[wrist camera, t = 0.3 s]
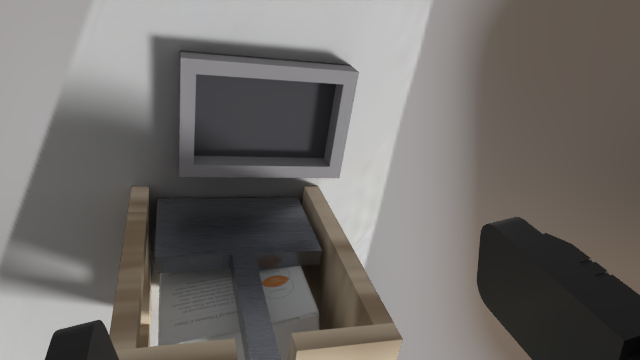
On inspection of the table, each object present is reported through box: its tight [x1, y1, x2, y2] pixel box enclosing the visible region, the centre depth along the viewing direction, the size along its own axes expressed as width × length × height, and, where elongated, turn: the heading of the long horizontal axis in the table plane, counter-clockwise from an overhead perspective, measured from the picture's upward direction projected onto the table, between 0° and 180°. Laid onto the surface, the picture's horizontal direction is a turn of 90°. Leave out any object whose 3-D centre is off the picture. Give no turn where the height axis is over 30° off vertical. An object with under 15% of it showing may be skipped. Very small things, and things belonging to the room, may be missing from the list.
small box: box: [158, 266, 319, 360], centre depth 28 cm, size 8×6×10 cm
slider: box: [154, 198, 322, 360], centre depth 22 cm, size 2×9×20 cm, turn 81°
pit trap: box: [179, 51, 359, 178], centre depth 28 cm, size 7×10×2 cm
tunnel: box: [109, 186, 403, 360], centre depth 27 cm, size 10×12×14 cm
